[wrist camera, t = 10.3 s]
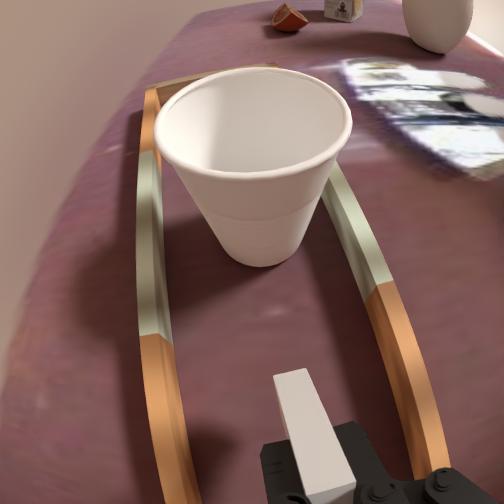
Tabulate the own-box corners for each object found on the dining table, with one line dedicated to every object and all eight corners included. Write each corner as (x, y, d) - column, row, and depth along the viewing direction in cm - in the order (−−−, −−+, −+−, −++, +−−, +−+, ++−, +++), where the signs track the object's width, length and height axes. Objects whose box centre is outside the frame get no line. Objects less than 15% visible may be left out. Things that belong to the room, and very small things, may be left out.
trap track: (434, 496, 13) (456, 503, 10) (198, 558, 12) (187, 575, 9) (275, 82, 35) (274, 62, 33) (152, 106, 35) (146, 86, 32)
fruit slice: (269, 24, 49) (268, 2, 45) (303, 24, 49) (303, 2, 44) (273, 37, 45) (272, 12, 40) (312, 37, 44) (312, 12, 40)
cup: (172, 264, 23) (112, 152, 14) (231, 172, 27) (213, 59, 18) (300, 315, 20) (321, 208, 11) (342, 205, 25) (367, 86, 15)
